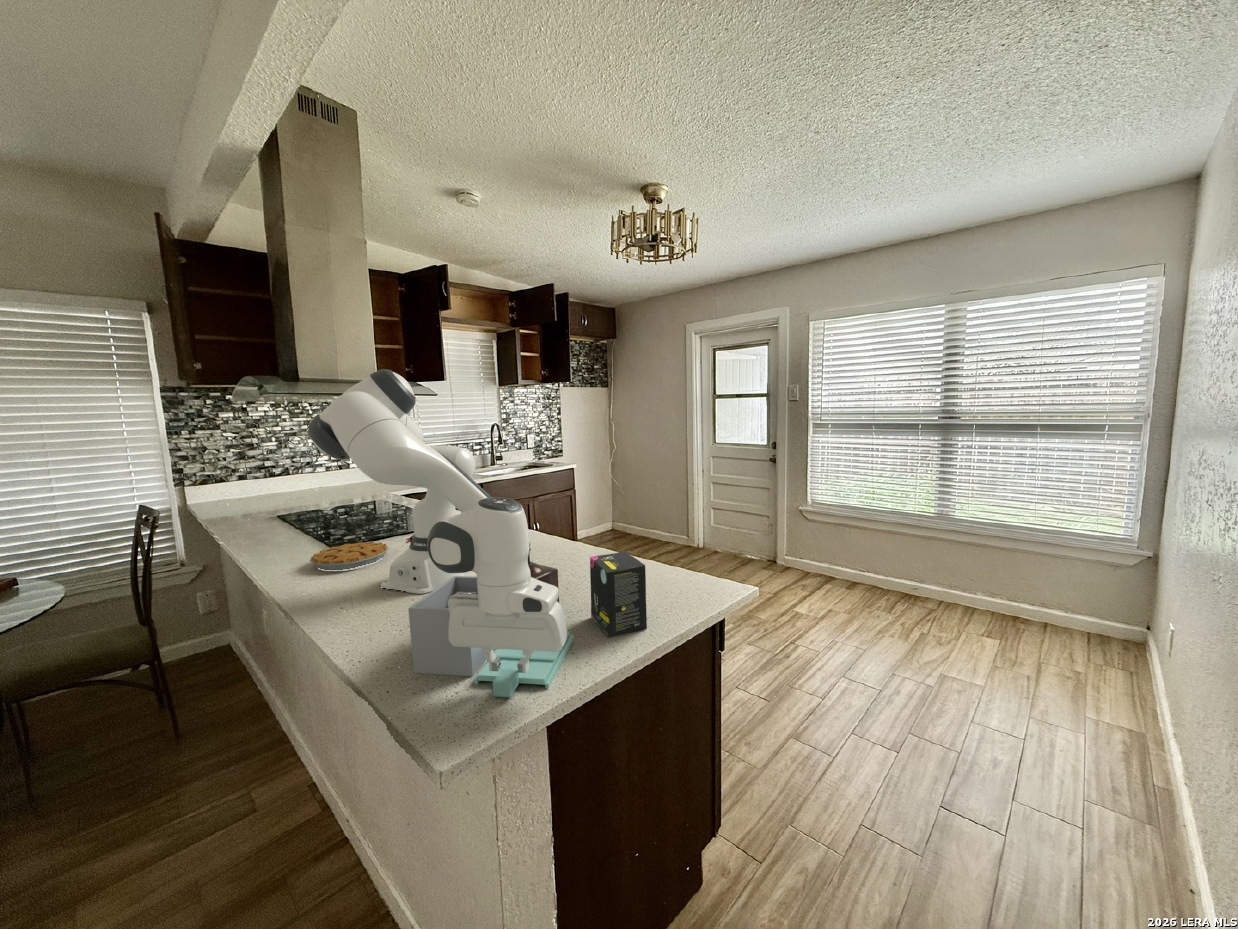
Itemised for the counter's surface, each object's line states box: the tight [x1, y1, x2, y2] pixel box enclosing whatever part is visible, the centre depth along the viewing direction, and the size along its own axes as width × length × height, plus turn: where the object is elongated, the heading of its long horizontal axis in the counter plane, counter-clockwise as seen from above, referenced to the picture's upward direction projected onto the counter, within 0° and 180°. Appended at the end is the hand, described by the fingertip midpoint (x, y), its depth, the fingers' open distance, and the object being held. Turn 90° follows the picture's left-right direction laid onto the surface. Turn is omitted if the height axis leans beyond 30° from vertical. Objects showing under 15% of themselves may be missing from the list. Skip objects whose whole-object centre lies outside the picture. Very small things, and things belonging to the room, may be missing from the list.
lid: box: [473, 630, 574, 698], centre depth 86 cm, size 14×21×3 cm, turn 172°
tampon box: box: [589, 551, 648, 638], centre depth 102 cm, size 11×9×15 cm
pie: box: [309, 541, 389, 570], centre depth 151 cm, size 22×22×5 cm
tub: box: [408, 575, 495, 677], centre depth 92 cm, size 12×17×12 cm
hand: (509, 670), depth 79 cm, fingers open, 4 cm apart
